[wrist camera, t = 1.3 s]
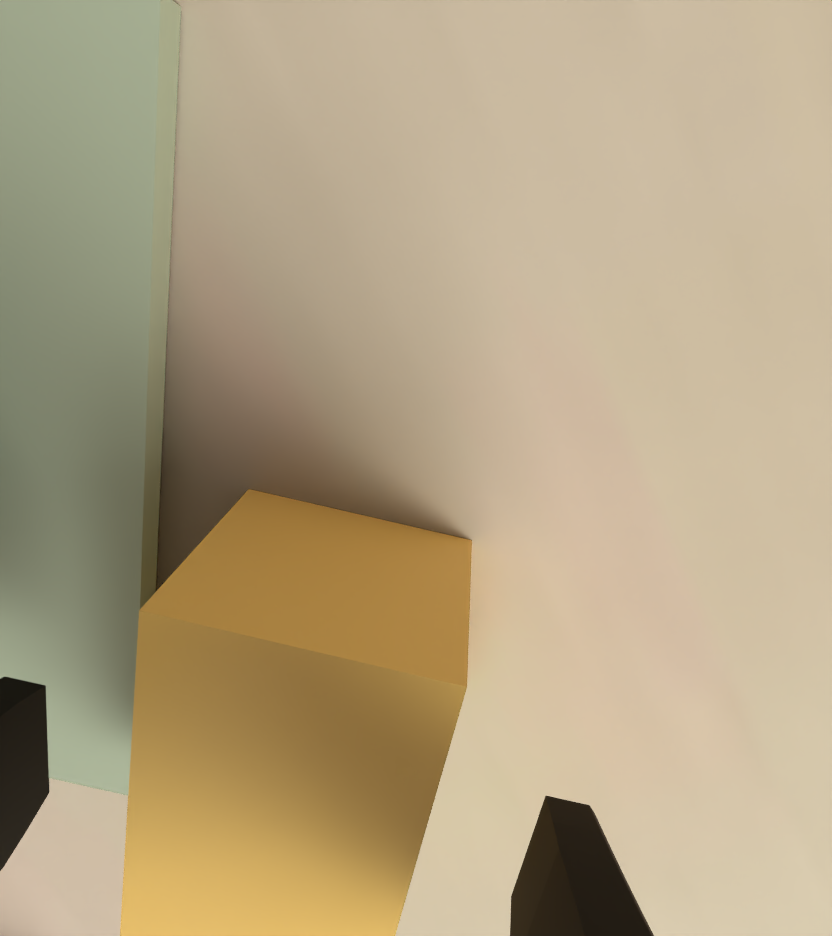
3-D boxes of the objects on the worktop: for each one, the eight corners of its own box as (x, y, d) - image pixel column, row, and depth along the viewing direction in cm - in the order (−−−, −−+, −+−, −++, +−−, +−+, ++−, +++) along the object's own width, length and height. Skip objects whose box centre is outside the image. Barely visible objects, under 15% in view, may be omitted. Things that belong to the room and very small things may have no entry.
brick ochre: (404, 788, 14) (375, 1001, 10) (219, 744, 14) (120, 939, 10) (471, 537, 11) (466, 686, 8) (251, 486, 11) (138, 609, 8)
